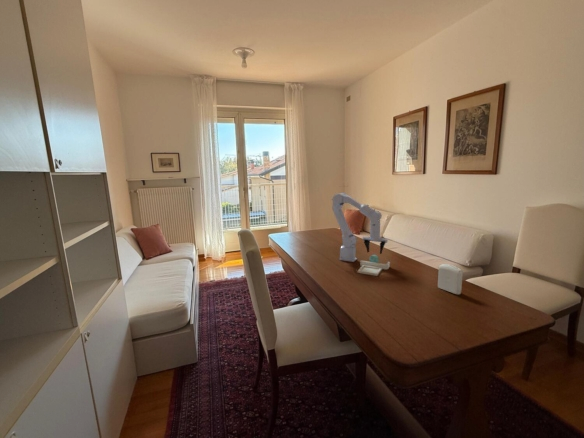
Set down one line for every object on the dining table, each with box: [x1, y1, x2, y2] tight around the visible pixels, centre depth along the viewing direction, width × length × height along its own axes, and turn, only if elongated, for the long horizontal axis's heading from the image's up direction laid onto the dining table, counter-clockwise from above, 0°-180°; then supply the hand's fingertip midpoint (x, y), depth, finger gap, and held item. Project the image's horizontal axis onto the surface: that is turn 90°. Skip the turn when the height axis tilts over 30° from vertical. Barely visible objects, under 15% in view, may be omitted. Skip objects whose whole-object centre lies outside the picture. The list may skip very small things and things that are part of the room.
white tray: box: [357, 265, 383, 277], centre depth 150 cm, size 11×11×1 cm
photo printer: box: [437, 263, 464, 295], centre depth 123 cm, size 10×4×12 cm, turn 26°
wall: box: [359, 260, 391, 271], centre depth 159 cm, size 16×6×3 cm, turn 60°
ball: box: [369, 254, 380, 263], centre depth 163 cm, size 6×6×6 cm
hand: (374, 252), depth 162 cm, fingers open, 7 cm apart
